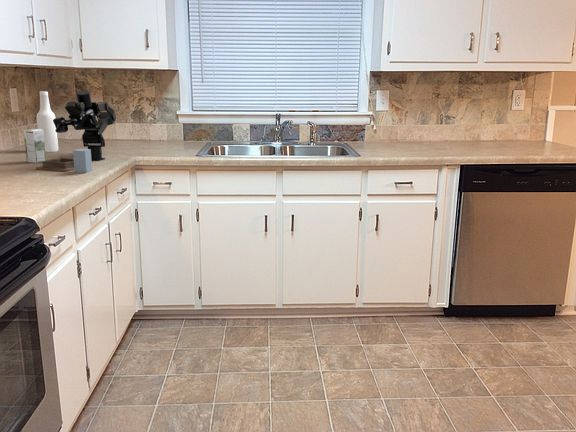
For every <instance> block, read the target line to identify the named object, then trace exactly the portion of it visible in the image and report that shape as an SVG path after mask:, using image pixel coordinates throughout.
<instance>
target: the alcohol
mask: <svg viewBox="0 0 576 432" xmlns="http://www.w3.org/2000/svg"><path fill="white" fill-rule="evenodd" d="M55 118H57V117H56V115H55V113H54V112H53V111H52V109H51V105H50V98H49V92H48V91H39V111H38V112H37V114H36V124H37V125H36V126H37V129H41V130H43V131H44V143H45V153H56V152H58V151H59V139H58V133H56V131H55V130H56V127H55V125H54V122H53V120H54V119H55Z"/></svg>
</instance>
